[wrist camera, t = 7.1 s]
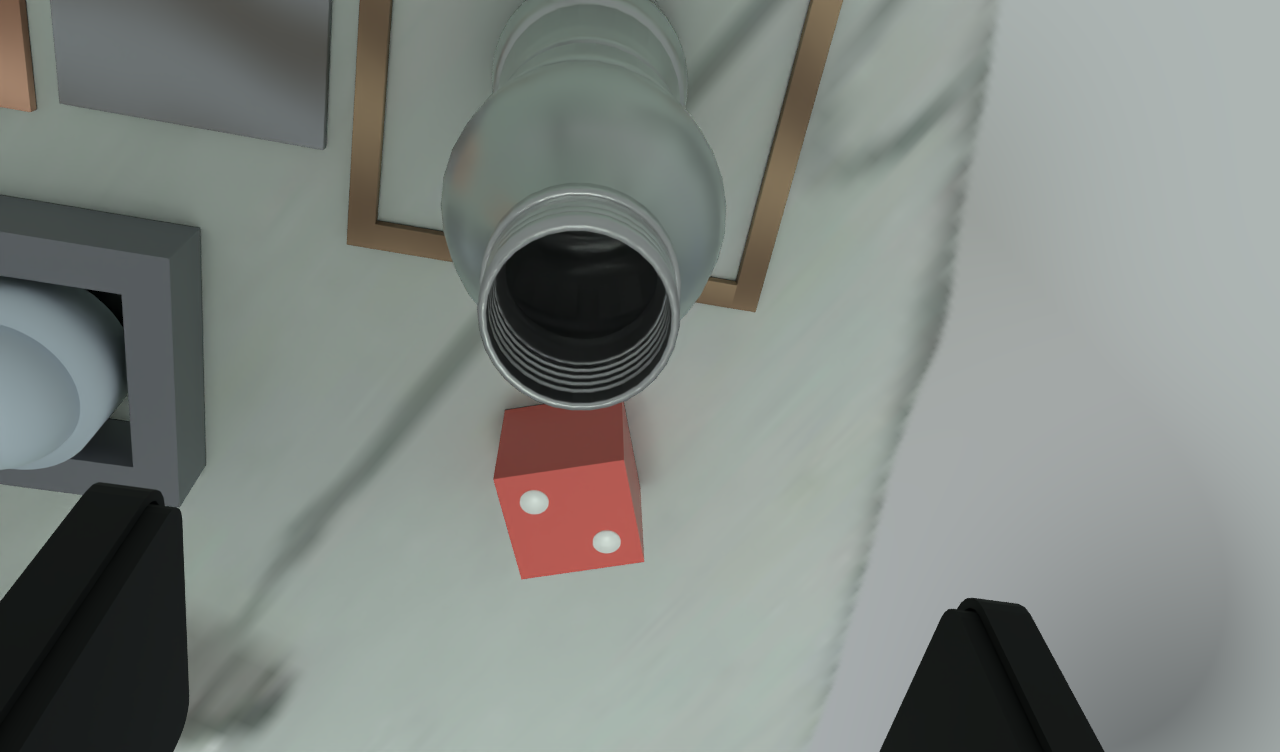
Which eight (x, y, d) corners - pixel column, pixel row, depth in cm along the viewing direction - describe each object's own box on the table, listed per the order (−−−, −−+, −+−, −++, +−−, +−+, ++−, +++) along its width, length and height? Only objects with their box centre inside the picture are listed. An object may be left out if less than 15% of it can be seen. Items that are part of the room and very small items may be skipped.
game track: (754, 307, 39) (755, 312, 39) (-253, 140, 35) (-261, 143, 34) (877, -133, 32) (879, -132, 31) (-393, -422, 27) (-406, -425, 27)
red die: (640, 487, 43) (644, 562, 39) (529, 503, 44) (521, 580, 39) (621, 392, 41) (623, 460, 37) (504, 410, 41) (493, 480, 37)
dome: (139, 435, 40) (68, 527, 34) (-40, 410, 39) (-140, 501, 34) (129, 284, 36) (50, 360, 31) (-66, 253, 36) (-181, 327, 30)
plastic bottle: (675, -43, 33) (758, 109, 15) (688, 154, 36) (767, 463, 19) (484, -25, 33) (350, 146, 15) (514, 170, 36) (432, 493, 19)
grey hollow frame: (205, 465, 42) (179, 507, 39) (-68, 428, 41) (-114, 469, 38) (200, 228, 37) (169, 258, 34) (-114, 176, 35) (-171, 204, 33)
